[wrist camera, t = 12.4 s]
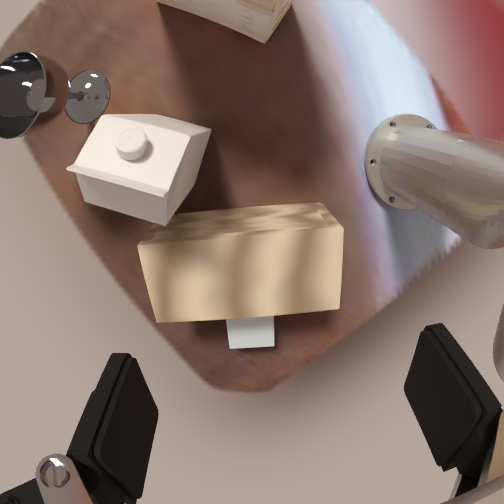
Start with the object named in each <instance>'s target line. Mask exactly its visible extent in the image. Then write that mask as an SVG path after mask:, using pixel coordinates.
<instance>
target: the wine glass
mask: <svg viewBox="0 0 504 504" xmlns="http://www.w3.org/2000/svg"><path fill="white" fill-rule="evenodd" d="M109 98H110V86H109V83H108V81H107V79H106V77H105V76H104V75H103V74H102V73H100V72H98V71H95V70H86V71H82V72H80V73H78V74H77V75H76V76H74V77H73V78H72V79H71V80H70V82H69V78H68V75H67V73H66V72H65V70H64V69H63V68H62V67H61V66H60V65H59V64H58V63H57V62H55V61H53V60H52V59H50V58H48V57H46V56H43V55H40V54H36V53H31V52H17V53H13V54H12V55H10V56H8V57H7V58H5V59H4V60H3V61H2V62H1V63H0V138H5V139H11V138H17V137H22V136H26V135H29V134H32V133H35V132H37V131H39V130H41V129H43V128H45V127H46V126H48V125H50V124H51V123H52V122H54V121H55V120H56V119H57V118H58V117H59V116H60V115H61V113H62V112H63V111H64V110H65V112H66V114H67V116H68V117H69V118H70V119H71V120H73V121H74V122H77V123H81V124H84V123H89V122H92V121H94V120H95V119H97V118H98V117H99V116H100V115H101V114H102V113H103V112H104V110H105V109H106V107H107V105H108V102H109Z"/></svg>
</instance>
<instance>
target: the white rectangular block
mask: <svg viewBox="0 0 504 504" xmlns="http://www.w3.org/2000/svg"><path fill="white" fill-rule="evenodd" d="M226 323H227V331H228V339H229V347H230V349H231V348H253V347H269V346H274V316H263V317H250V318H236V319H226Z"/></svg>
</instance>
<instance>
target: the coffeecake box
mask: <svg viewBox="0 0 504 504" xmlns="http://www.w3.org/2000/svg"><path fill="white" fill-rule="evenodd" d="M156 1H157V2H159V3H162V4H166V5H169V6H172V7H175V8H178V9H180V10H183V11H186V12H189V13H192V14H195V15H198V16H200V17H203V18H206V19H208V20H211V21H213V22H216V23H218V24H221V25H223V26H226V27H228V28H230V29H233V30H235V31H237V32H240V33H242V34H244V35H246V36H249V37H251V38H253V39H255V40H257V41H259V42H262V43H264V44H265V43H266V42H267V40H268V39H269V38H270V36H271V35H272V33H273V32H274V30H275V29H276V27H277V26H278V24H279V23H280V21H281V20H282V18H283V17H284V15H285V14H286V12H287V11H288V9H289V8H290V6H291V4H292V2H293V0H156Z"/></svg>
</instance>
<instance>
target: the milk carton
mask: <svg viewBox="0 0 504 504" xmlns="http://www.w3.org/2000/svg"><path fill="white" fill-rule="evenodd" d="M211 131H212V130H211V129H209V128H206V127H203V126H199V125H196V124H192V123H188V122H185V121H181V120H177V119H173V118H169V117H165V116H161V115H157V114H107V115H102V116H101V118H100V119H99V121H98V123H97V124H96V126H95V128H94V129H93V131H92V133H91V134H90V136H89V138H88V140H87V141H86V143H85V145H84V147H83V149H82V150H81V152H80V154H79V156H78V158H77V160H76V162H75V164H74V165H71V166H69V167H67V170H69V171H72V172H76V176H77V179H78V182H79V185H80V188H81V191H82V195H83V198H84V200H85V202H88V203H91V204H94V205H97V206H100V207H104V208H107V209H110V210H114V211H117V212H120V213H124V214H127V215H130V216H133V217H137V218H140V219H143V220H147V221H150V222H153V223H157V224H160V225H164V226H166V225H167V223H168V222H169V220H170V219H171V217H172V216H173V215H174V213H175V212H176V210H177V209H178V207H179V206H180V205H181V203H182V202H183V200H184V199H185V198H186V196H187V195H188V193H189V192H190V191H191V189H192V188H193V186H194V185H195V182H196V178H197V175H198V172H199V168H200V165H201V162H202V159H203V155H204V152H205V149H206V146H207V143H208V140H209V137H210V134H211Z"/></svg>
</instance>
